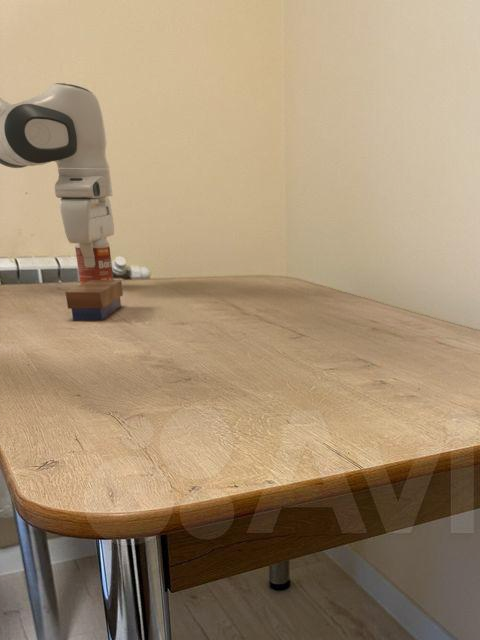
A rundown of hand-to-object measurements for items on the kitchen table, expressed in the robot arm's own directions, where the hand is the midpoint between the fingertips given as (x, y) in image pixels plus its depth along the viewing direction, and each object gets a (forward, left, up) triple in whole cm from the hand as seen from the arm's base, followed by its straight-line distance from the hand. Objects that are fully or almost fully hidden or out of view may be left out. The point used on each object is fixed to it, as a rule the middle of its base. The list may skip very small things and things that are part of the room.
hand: (96, 264), depth 135 cm
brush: (+7, -28, -4) cm, 29 cm away
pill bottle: (0, 0, -4) cm, 4 cm away
